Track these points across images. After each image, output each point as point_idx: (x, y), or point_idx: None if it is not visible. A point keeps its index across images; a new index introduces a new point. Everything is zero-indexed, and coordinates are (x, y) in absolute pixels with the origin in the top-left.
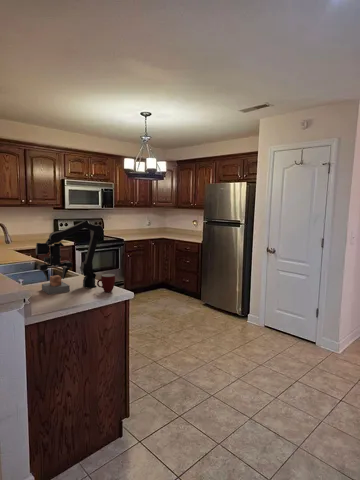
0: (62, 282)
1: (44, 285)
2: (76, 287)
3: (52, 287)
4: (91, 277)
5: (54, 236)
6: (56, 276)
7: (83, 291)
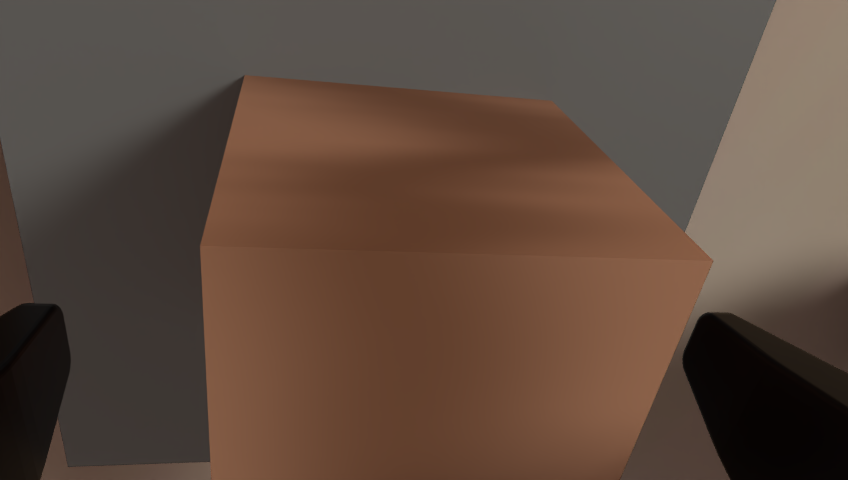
0: (705, 84)
1: (10, 95)
2: (836, 186)
3: (188, 431)
4: None
5: None
6: (474, 452)
7: (688, 460)
